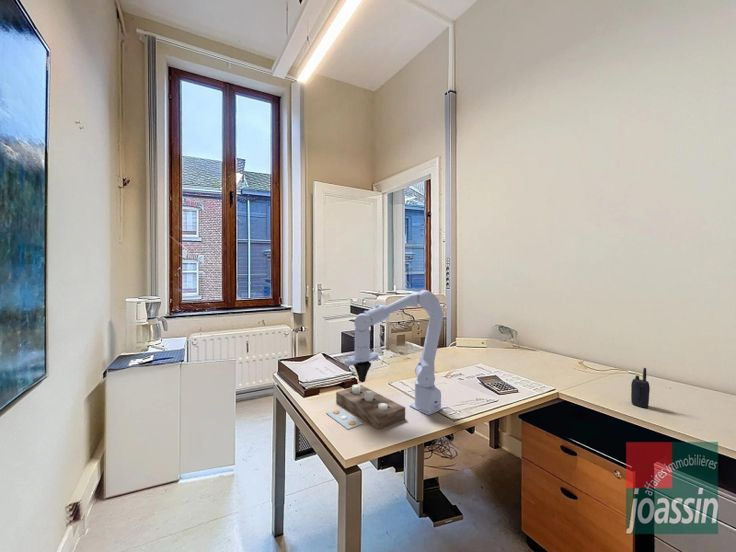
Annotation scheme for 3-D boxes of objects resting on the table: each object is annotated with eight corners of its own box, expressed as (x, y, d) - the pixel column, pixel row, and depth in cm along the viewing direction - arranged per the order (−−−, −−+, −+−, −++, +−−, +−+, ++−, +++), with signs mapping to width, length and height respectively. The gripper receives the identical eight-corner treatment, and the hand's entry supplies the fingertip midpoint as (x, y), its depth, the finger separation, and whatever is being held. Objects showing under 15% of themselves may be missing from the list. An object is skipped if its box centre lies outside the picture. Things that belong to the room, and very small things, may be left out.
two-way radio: (650, 407, 121) (652, 368, 120) (645, 410, 118) (646, 370, 118) (632, 402, 125) (634, 364, 125) (627, 404, 123) (628, 366, 123)
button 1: (362, 396, 124) (362, 386, 124) (355, 398, 122) (355, 388, 122) (357, 393, 127) (357, 383, 127) (350, 395, 125) (350, 385, 125)
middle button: (374, 403, 118) (374, 392, 118) (368, 406, 116) (368, 395, 116) (369, 400, 120) (369, 390, 120) (362, 402, 118) (362, 392, 118)
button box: (405, 418, 112) (405, 407, 111) (378, 429, 104) (378, 417, 104) (361, 394, 132) (361, 384, 132) (336, 402, 125) (336, 392, 125)
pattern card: (362, 424, 108) (362, 422, 108) (348, 429, 104) (348, 428, 104) (340, 409, 119) (340, 407, 119) (326, 413, 115) (326, 412, 115)
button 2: (389, 416, 112) (389, 405, 111) (382, 419, 110) (382, 407, 109) (383, 413, 114) (383, 402, 114) (376, 415, 112) (376, 404, 112)
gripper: (370, 340, 128) (370, 374, 129) (340, 346, 119) (340, 382, 120) (382, 344, 123) (381, 379, 123) (351, 350, 114) (350, 388, 114)
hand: (361, 381), depth 121 cm, fingers closed
